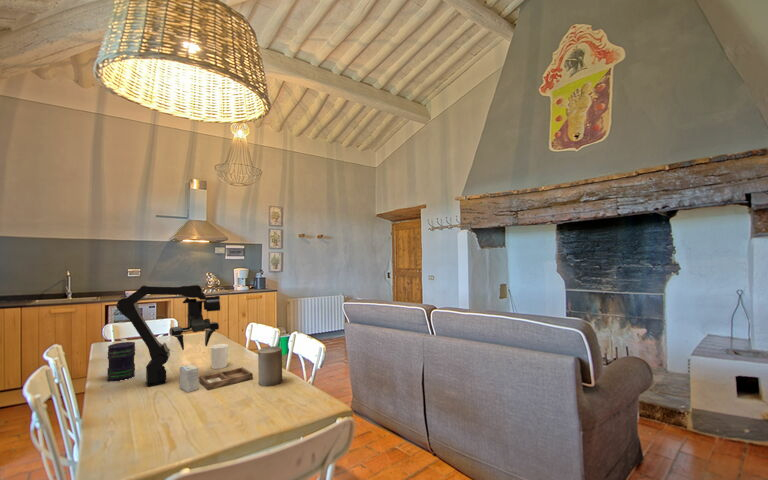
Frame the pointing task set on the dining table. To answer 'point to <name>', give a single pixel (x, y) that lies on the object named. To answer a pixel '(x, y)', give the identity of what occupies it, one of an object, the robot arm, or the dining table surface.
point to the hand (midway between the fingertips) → (194, 348)
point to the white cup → (219, 356)
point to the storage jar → (121, 361)
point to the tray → (225, 378)
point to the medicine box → (189, 378)
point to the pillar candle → (270, 366)
